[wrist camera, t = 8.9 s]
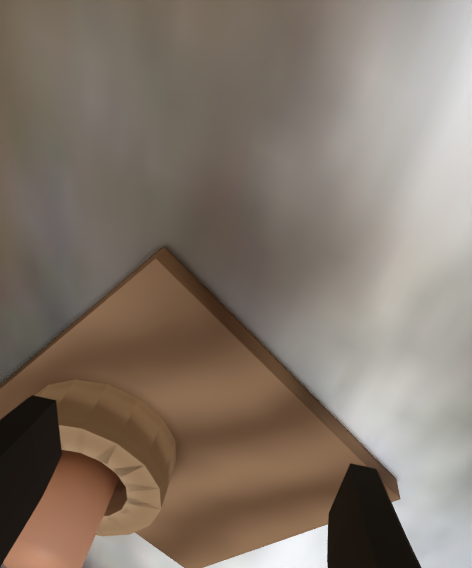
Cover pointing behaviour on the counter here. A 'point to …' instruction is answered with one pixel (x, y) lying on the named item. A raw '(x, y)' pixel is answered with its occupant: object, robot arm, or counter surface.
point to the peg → (65, 515)
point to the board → (206, 414)
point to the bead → (118, 448)
